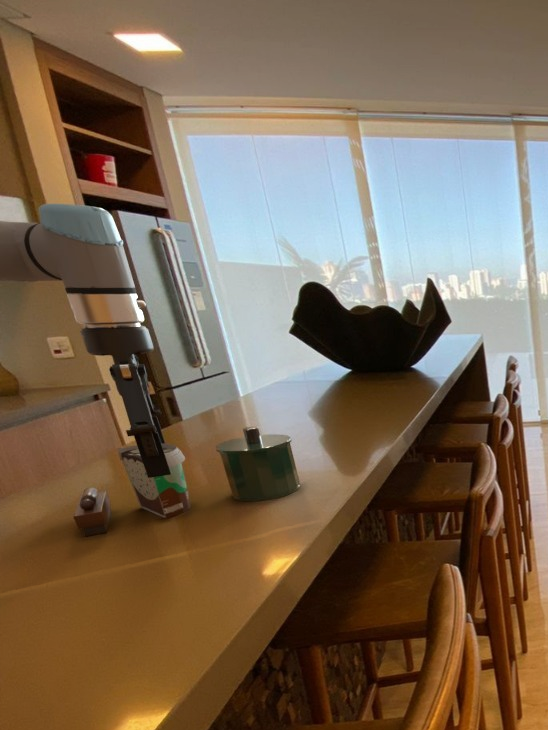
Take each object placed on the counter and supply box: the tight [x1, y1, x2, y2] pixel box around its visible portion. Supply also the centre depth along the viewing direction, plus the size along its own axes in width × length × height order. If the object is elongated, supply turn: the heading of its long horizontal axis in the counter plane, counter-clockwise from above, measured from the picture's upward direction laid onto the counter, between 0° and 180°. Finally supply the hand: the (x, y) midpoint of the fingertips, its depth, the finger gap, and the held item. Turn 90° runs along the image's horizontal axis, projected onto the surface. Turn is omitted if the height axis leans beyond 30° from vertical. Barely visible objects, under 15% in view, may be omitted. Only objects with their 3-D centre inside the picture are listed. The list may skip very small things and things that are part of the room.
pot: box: [219, 442, 301, 502], centre depth 99 cm, size 10×10×8 cm
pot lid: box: [215, 426, 292, 454], centre depth 97 cm, size 11×11×4 cm
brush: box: [73, 486, 112, 537], centre depth 86 cm, size 12×3×5 cm, turn 39°
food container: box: [116, 443, 192, 519], centre depth 92 cm, size 12×6×10 cm, turn 59°
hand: (159, 465), depth 90 cm, fingers open, 13 cm apart
